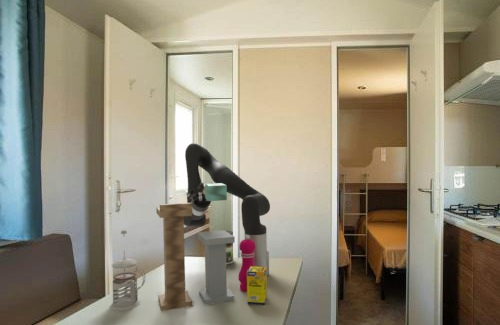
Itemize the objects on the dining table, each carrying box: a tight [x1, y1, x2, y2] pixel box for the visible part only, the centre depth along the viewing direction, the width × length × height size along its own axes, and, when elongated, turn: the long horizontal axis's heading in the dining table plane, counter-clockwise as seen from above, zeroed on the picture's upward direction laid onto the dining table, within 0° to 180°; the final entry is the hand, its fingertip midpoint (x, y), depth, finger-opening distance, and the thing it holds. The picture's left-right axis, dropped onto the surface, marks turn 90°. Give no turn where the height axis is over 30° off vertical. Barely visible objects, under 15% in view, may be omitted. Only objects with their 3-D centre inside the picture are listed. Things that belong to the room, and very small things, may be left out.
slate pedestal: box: [196, 229, 236, 306], centre depth 121 cm, size 10×13×22 cm
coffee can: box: [225, 230, 234, 266], centre depth 166 cm, size 10×10×14 cm
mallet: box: [202, 182, 228, 202], centre depth 126 cm, size 6×21×5 cm, turn 20°
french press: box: [109, 229, 146, 311], centre depth 117 cm, size 10×12×25 cm
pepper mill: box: [237, 235, 256, 293], centre depth 129 cm, size 7×7×20 cm
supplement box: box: [246, 266, 268, 306], centre depth 117 cm, size 6×6×11 cm
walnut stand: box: [155, 202, 194, 311], centre depth 117 cm, size 10×13×34 cm
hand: (207, 184), depth 130 cm, fingers closed on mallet, 3 cm apart
